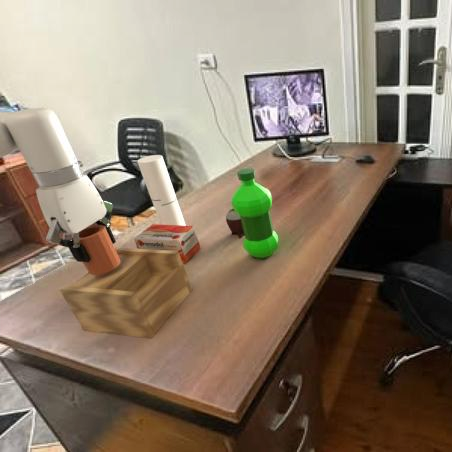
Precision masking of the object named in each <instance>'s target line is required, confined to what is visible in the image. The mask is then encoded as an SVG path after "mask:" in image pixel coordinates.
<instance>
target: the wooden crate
mask: <svg viewBox="0 0 452 452" xmlns="http://www.w3.org/2000/svg"><path fill="white" fill-rule="evenodd" d="M115 250H116V252H117V254H118V256H119V259H120V264H119V265H118V266H117V267H116V268H115V269H113V270H111V271H109V272H107V273H104V274H100V275H91V274H89V272H88V271H87V273H85V274H84V275H82V276H81V277H80V278H78V279H77V280H76V281H75V282H73V283H72V284H71V285H62V286H60V288H58V290H59V292H60V294H61V295H62V297H63V299H64V300H65V302H66V303H67V306H68V307H69V309H70V310H71V312H72V314H73V315H74V317H75V318H76V321H77V322H78V324H79V325H80V327H81V328H82V330H83V331H86V332H87V331H88V332H94V333H95V332H96V333H102V334H103V333H104V334H112V335H119V336H127V337H135V338H144V339H152V338H153V337H154V336H155V335H156V334H157V333H158V332H159V330H160V329H161V328H162V327H163V325H165V323H166V322H167V321H168V320H169V319H170V317H171V316H172V315H173V314H174V313H175V312H176V310H177V309H178V308H179V307H180V306H181V305H182V303H183V302H184V301H185V300H186V299H187V297H189V296H190V294H191V293H192V292H193V288H192V285H191V283H190V280H189V277H188V274H187V272H186V268H185V266H184V263H182V260H181V257H180V255H179V252H178V251H169V250H151V249H138V248H134V247H133V248H132V247H131V248H130V247H115Z"/></svg>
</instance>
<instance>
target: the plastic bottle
mask: <svg viewBox="0 0 452 452" xmlns="http://www.w3.org/2000/svg"><path fill="white" fill-rule="evenodd" d="M255 171H256V170H255V169H254V168H243V169H240V170H238V171H237V177H238V180H239V181H240V182H241V185H240V186H239V187H238V188H237V190H236V191H235V192H234V193H233V196H232V199H231V207H232V209H234V211H235V212H236V213H238V214H239V215H240V218H241V222H242V226H243V230H244V233H243V234H244V240H243V248H244V251H246V252H247V254H249V255H250V256H252V257H254V258H257V259H265V258H268V257H270V256H271V255H272V254H273V253H275V252H276V250H277V248H278V246H279V235H278V234H277V232H276V231H275V230H274V227H273V222H272V215H271V212H270V210H271V208H272V205H273V196H272V193H271V191H270V189H268V188H266V187H264V186H262V185H261V184H259V183H257V182H255V178H256V177H257V176H256V172H255Z"/></svg>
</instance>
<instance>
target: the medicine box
mask: <svg viewBox="0 0 452 452" xmlns="http://www.w3.org/2000/svg"><path fill="white" fill-rule="evenodd" d="M133 240H134V242H135V245H136V247H137V248H136V249H151V250H169V251H178V252H179V255H180V257H181V260H182V263H183V264H187V263H188V262H189V261H190V260H191V259H192V258H193V257H194V256H195V255H196V254H197V253H198V252H199V251H200V250H201V244H200V241H199V238H198V235H197V233H196V230H195V227H194V225H186V226H180V225H161V224H155V223H153V224H151V225H149V226H148V227H147V228H145V229H144V230H143V231H142V232H140V233H139V234H138V235H136V236H135V237H133Z"/></svg>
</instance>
